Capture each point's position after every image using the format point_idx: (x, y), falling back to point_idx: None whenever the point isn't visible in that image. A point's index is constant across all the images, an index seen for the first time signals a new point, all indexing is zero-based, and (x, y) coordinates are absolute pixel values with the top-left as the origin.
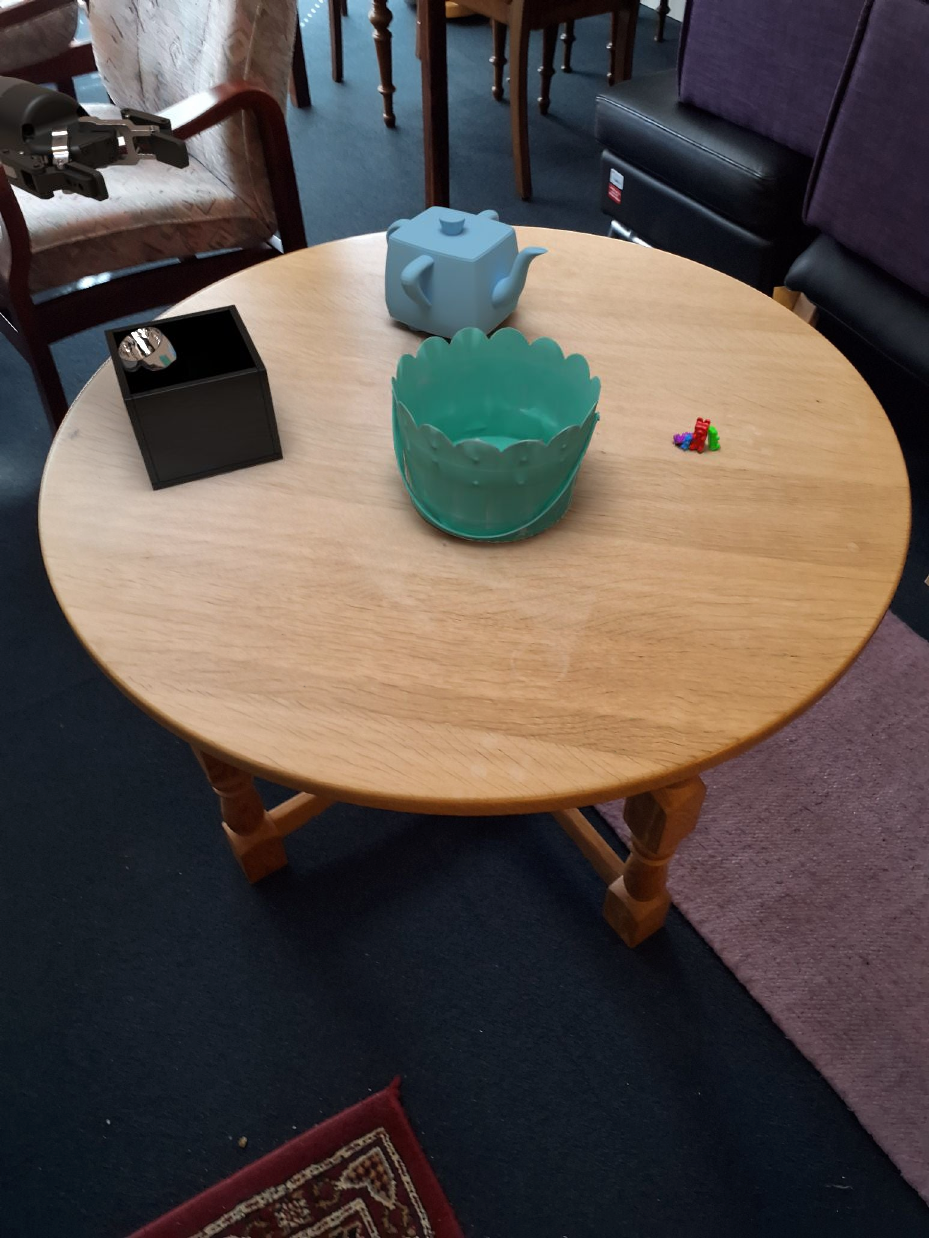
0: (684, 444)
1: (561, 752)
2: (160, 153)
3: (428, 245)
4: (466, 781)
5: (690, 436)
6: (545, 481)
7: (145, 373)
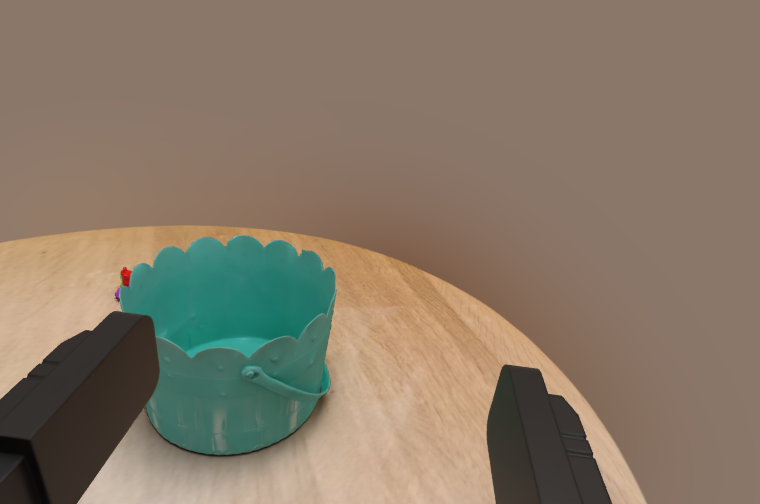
0: None
1: (447, 297)
2: (82, 457)
3: None
4: (497, 320)
5: (129, 286)
6: (291, 291)
7: None
